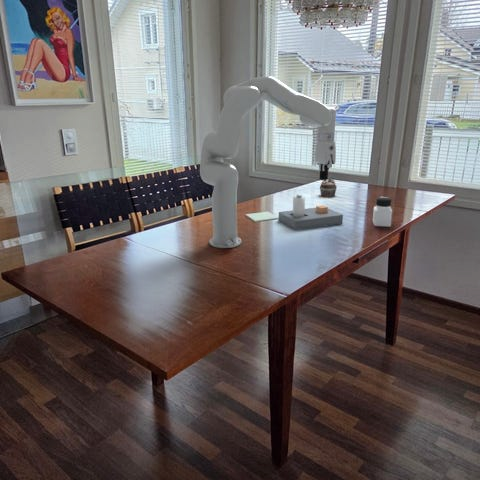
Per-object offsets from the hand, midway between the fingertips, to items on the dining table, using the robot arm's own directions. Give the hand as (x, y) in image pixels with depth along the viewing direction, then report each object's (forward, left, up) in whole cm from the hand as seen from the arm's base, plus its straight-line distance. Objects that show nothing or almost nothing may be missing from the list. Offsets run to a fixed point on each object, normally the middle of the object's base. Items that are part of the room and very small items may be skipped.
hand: (323, 179), depth 182 cm
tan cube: (0, 0, -17) cm, 17 cm away
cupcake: (+42, -30, -19) cm, 55 cm away
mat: (+16, +23, -19) cm, 34 cm away
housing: (0, +6, -19) cm, 20 cm away
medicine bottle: (-16, -21, -19) cm, 33 cm away
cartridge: (0, +12, -19) cm, 23 cm away
